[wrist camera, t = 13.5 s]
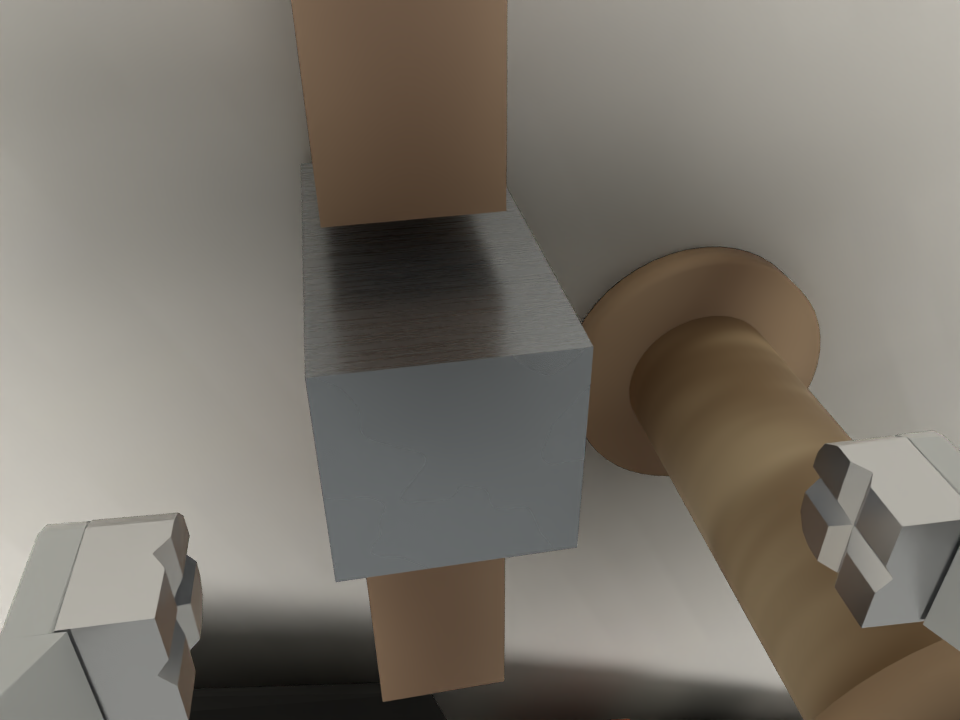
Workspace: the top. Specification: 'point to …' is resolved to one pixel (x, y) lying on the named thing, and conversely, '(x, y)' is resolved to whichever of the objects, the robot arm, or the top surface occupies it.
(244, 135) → the top surface
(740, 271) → the bobbin
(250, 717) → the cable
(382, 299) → the block
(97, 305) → the top surface
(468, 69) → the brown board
